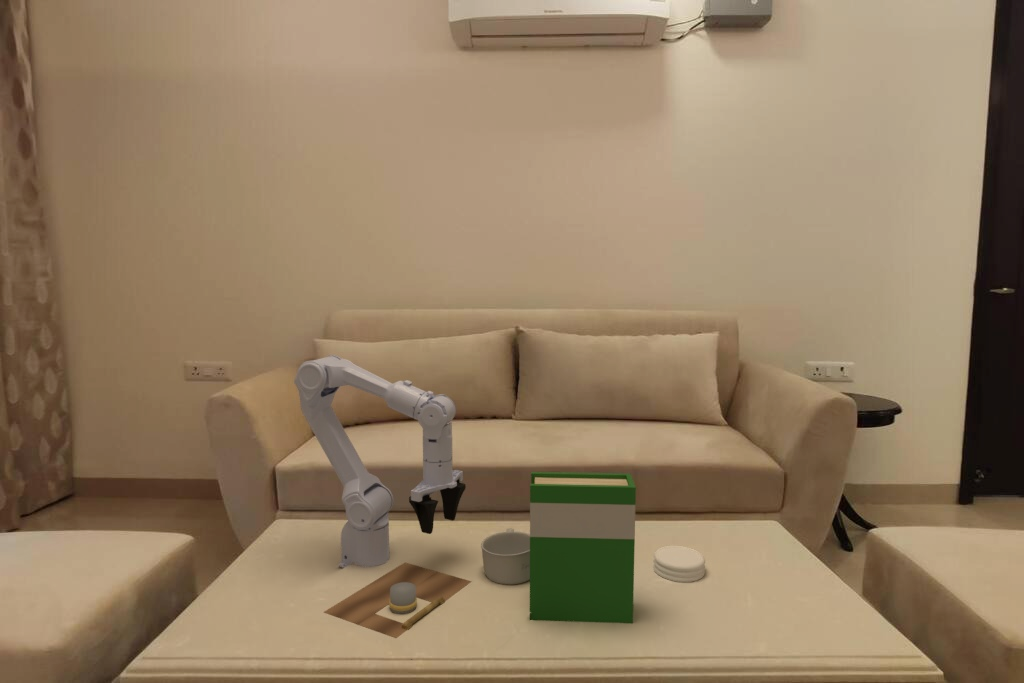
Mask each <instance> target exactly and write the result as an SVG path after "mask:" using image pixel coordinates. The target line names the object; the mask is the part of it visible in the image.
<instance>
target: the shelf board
mask: <svg viewBox="0 0 1024 683" xmlns="http://www.w3.org/2000/svg"><path fill="white" fill-rule="evenodd" d="M401 582H408V583H412V584H414V585H415V586H416V598H417V599H420V600H423V601H427V602H429V604H428V605H426V606H425V607H423V608H422V609H420V610H419V611H418V612H416V613H415V614H414V615H412V616H410V617H409V618H408V619H406V620H405V621H404V622H400V621H397V620H395V619H392V618H389V617H386V616H383V615H379V614H377V613H378V612H379V611H381V610H383V609H384V608H386V607H387V606H389V600H390V588H391V587H392V586H393V585H394V584H397V583H401ZM471 582H472V580H468V579H466V578H462V577H458V576H454V575H450V574H447V573H443V572H440V571H437V570H433V569H429V568H426V567H423V566H419V565H415V564H412V563H408V562H404V563H401V564H400V565H398V566H397V567H395V568H393V569H392V570H390V571H389V572H387V573H385V574H383V575H382V576H380V577H379V578H377V579H376V580H374V581H372V582H371V583H369V584H367V585H365V586H364V587H362V588H361V589H359V590H356V592H354V593H352V594H351V595H349V596H348V597H346V598H344V599H342V600H341V601H340V602H338V603H336V604H334V605H333V606H331V607H329V608H328V609H326V610H324V611H323V613H324V614H326V615H327V614H328V615H330V616H333V617H335V618H338V619H341V620H344V621H346V622H350V623H352V624H355V625H357V626H360V627H364V628H366V629H369V630H372V631H375V632H378V633H380V634H383V635H386V636H387V637H391V638H393V639H397V638H398V637H400V636H401V635H403V634H404V633H405V632H407V631H408V630H410V629H411V628H412V627H413V624H415V623H416V622H417V621H418V620H421V619H422V618H423V617H425V615H428V613H430V612H431V611H432V610H434V608H436V607H437V606H441V605H443V604H444V603H445V602H446V601H448V600H449V599H450V598H452V597H453V596H454V595H455V594H457V593H458V592H460V591H461V590H463V589H464V588H465V587H466V586H467V585H469V584H470V583H471Z"/></svg>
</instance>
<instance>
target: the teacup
mask: <svg viewBox="0 0 1024 683" xmlns="http://www.w3.org/2000/svg"><path fill="white" fill-rule="evenodd" d="M480 547H481V551H482V552H481V554H482V563H483V570H484V573H485V576H486V577H487V578H488V579H489V580H490V581H491V582H493V583H495V584H496V583H497V584H500V585H507V586H509V585H511V586H512V585H520V584H524V583H526V582H528V581H530V533H527V532H524V531H515V530H514V528H513V527H511V528H510V527H508V528H506V530H505V531H503V532H501V531H500V532H497V533H493V534H490V535H489V536H487V537H486V538H484V539H483V540H482V541H481V544H480Z"/></svg>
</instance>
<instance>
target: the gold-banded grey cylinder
mask: <svg viewBox="0 0 1024 683" xmlns="http://www.w3.org/2000/svg"><path fill="white" fill-rule="evenodd" d="M417 601H418V598H416V586H415V585H414V584H412V583H408V582H401V583H397V584H394V585H393V586H392V587H391V588H390V600H389V605H388V606H389V609H390V611H391V612H392V613H394V614H396V615H406V614H409V613H412V612H414V611H415V610H416V608H417V604H418V602H417Z"/></svg>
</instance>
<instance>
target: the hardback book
mask: <svg viewBox="0 0 1024 683" xmlns="http://www.w3.org/2000/svg"><path fill="white" fill-rule="evenodd" d="M636 488H637V487H636V484H635V482H634V479H633V477H632V474H631V473H613V472H612V473H610V472H609V473H608V472H606V473H605V472H603V473H602V472H562V471H561V472H559V471H558V472H557V471H556V472H555V471H554V472H553V471H552V472H551V471H547V472H546V471H531V472H530V484H529V534H530V580H529V621H540V622H541V621H543V622H544V621H545V622H571V623H572V622H573V623H574V622H576V623H577V622H578V623H580V622H581V623H605V624H607V623H608V624H611V623H613V624H633V623H634V591H635V590H634V589H635V586H634V585H635V583H634V582H635V581H634V579H635V578H634V577H635V545H636V544H635V542H636V541H635V536H636V498H637V497H636V495H637V492H636V491H637V489H636Z"/></svg>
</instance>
